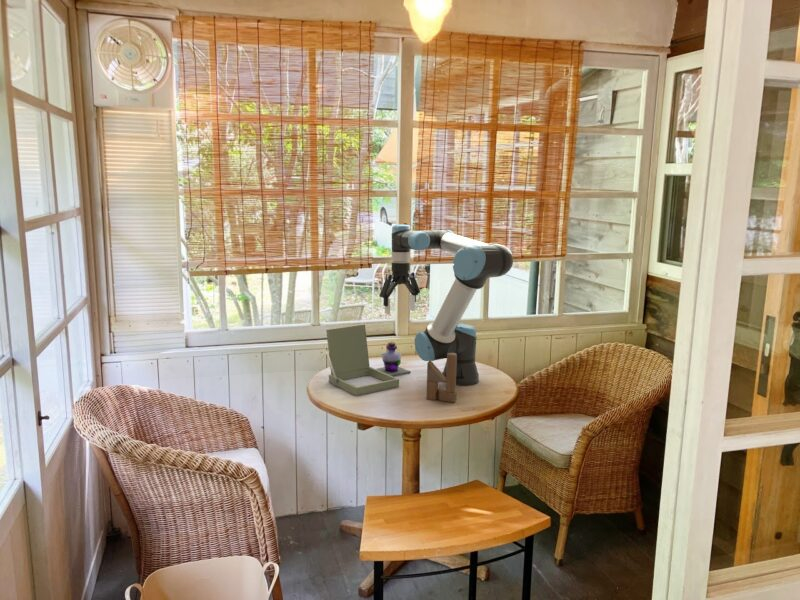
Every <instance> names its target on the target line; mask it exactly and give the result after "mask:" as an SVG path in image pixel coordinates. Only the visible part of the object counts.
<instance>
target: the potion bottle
mask: <svg viewBox="0 0 800 600" xmlns="http://www.w3.org/2000/svg"><path fill="white" fill-rule="evenodd" d="M385 348H386V350H387V351H385V352H383V353H381V358H382V362H383V367H385V371H386V372H396V371H398V367H400V365H401V363H402V362H401V360H402V356H403V355H402V353H400V352H396V350H398V346H397V345H396V343H395V342H394V341H391V342H387V345H386V347H385Z"/></svg>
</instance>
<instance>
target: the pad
mask: <svg viewBox="0 0 800 600" xmlns="http://www.w3.org/2000/svg"><path fill="white" fill-rule="evenodd" d="M376 369H377V370H379V371H381V372H384V373H386V374H388V375H391V376H393V377H397V376H403V375H408V374H411V371H410V370H409V369H406V368H403V367H401V366H398V371H396V372H386V371H385V367H384V366H383V367H377V368H376Z"/></svg>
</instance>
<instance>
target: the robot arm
mask: <svg viewBox="0 0 800 600" xmlns="http://www.w3.org/2000/svg"><path fill="white" fill-rule="evenodd" d="M391 228H392V229H391V261H392V262H391V271H392V273H391V274H388V273H387V274H385V280H384V282H383V285H382V288H381V291H380V293H379V297H380V298H381V299H382V298H383V307H384V314H386V315H391V298H390V296H391V295H392V293H393V292H394V290H395V289H396V287H397V286H398V285H404V286H405V287H406V289H407V290H408V291H409V311H413V312H414V311H415V312H416V303H417V296H418V295H419V294H420V293H421V289H420V287H419V285H418V282H417V280H416V275H415V272H412V271H410V266H411V265H410V259H411V255H410V254H411V250H413V251H414V250H415V251H425V250H436V249H437V250H441V251H445V252H448V253H451V254H454V257H453V261H452V264H453V265H452V270H453V275H454V278H455V279H454V281H453V283H452V284H451V287H450V289H449V291H448V293H447V295H446V297H445V299H444V301H443V303H442V305H441V306H440V308H439V311H438V313H437V315H436V317H435V319H434V320H433V321H430V322H429V323H428V324H427V326H426V327H425V330H424V331H419V332H417V333H416V335H415V337H414V349H415V351H416V354H417V355H418V357H419V358H420V359H421V360H422V361H424V362H429V361H430V360H431V361H432V362H433V361H439V360H444V359H447V353H456V354H457V366H456V386H470V385H474V384H477V383H478V382H479V381H480V374H479V372H478V368H477V363H476V350H477V337H478V336H477V328H476V327H475V326H473V325H470V324H466V323H460V321H461V319H462V318H463V316H464V314H465V312H466V311H467V309H468V308H469V304H470V303H471V301H472V300H473V297H474V295H475V294H476V292H477V290H481V289H482V288H483V287H484V286H485V284H486V282H487V280H488V279H490V278H497V277H498V278H499V277H502V276H504V275H507V273H508V272H510V270H511V269H512V267H513V266H514V265H513V264H514V254H513V253H512V251H511V250H510V249H509V248H508V247H507V246H506V245H502V244H499V243H496V242H489V243H485V242H483V241H480V240H477V239H472V238H469V237H465V236H462V235H459V234H456V233H454V232H453V230H451V229H441V230H439V229H437V230H436V229H435V230H411V226H410V225H409V224H393V225H392V227H391ZM446 370H447V360H446V361H445V364H444V368H443V371H442V372H441V373H442V374H443V375H444V376H445V377H446Z"/></svg>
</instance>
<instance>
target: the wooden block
mask: <svg viewBox="0 0 800 600" xmlns="http://www.w3.org/2000/svg"><path fill="white" fill-rule="evenodd" d="M446 361H447V370H446V377H445V376H444V375H443V374H442V372H441V371H440V369H439V368H438V367H437V366H436V365H435V363H434V362H433V361H431V360H430V361H427V364H426V365H427V369H426V399H427V400H431V401H436V400H439V402H447V403H455V402H456V401H457V396H458V391H457V389H456V388H457V385H456V366H457V354H456V353H447V358H446ZM439 383H443V384H445V388H439Z"/></svg>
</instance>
